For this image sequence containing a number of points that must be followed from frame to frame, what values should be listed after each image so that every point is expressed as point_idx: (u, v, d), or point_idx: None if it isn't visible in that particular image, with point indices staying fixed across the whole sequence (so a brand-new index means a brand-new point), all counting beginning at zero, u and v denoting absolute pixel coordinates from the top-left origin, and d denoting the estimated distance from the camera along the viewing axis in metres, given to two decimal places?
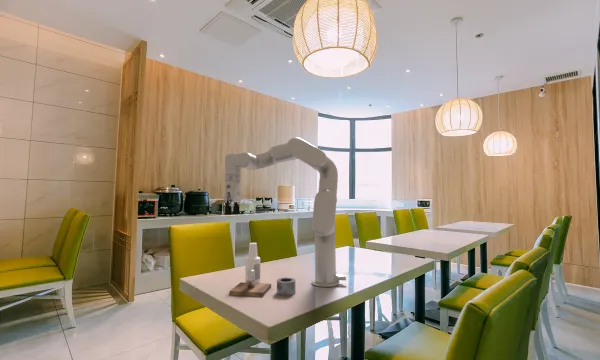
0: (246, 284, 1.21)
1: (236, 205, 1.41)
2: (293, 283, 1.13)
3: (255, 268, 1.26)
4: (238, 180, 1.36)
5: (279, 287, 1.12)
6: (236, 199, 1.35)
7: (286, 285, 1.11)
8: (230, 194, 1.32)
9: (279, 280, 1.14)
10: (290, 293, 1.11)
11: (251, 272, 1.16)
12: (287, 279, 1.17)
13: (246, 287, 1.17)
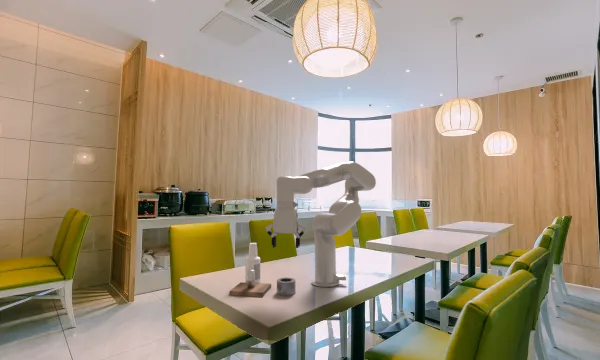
0: (246, 284, 1.21)
1: (275, 237, 1.17)
2: (293, 283, 1.13)
3: (255, 268, 1.26)
4: None
5: (279, 287, 1.12)
6: None
7: (286, 285, 1.11)
8: None
9: (279, 280, 1.14)
10: (290, 293, 1.11)
11: (251, 272, 1.16)
12: (287, 279, 1.17)
13: (246, 287, 1.17)
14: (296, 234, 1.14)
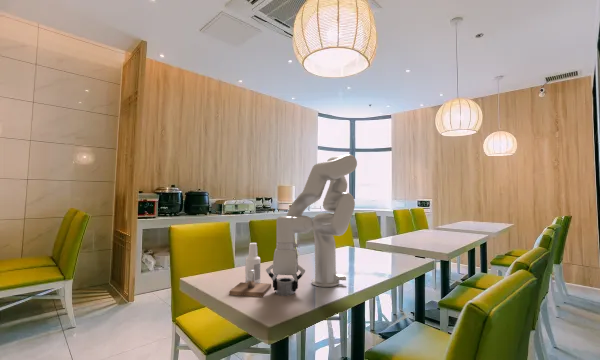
0: (246, 284, 1.21)
1: (276, 278, 1.15)
2: (292, 283, 1.12)
3: (255, 268, 1.26)
4: None
5: (278, 287, 1.12)
6: None
7: (285, 285, 1.11)
8: (298, 265, 1.15)
9: (278, 280, 1.14)
10: (289, 293, 1.11)
11: (251, 272, 1.16)
12: (286, 279, 1.17)
13: (246, 287, 1.17)
14: (294, 277, 1.13)
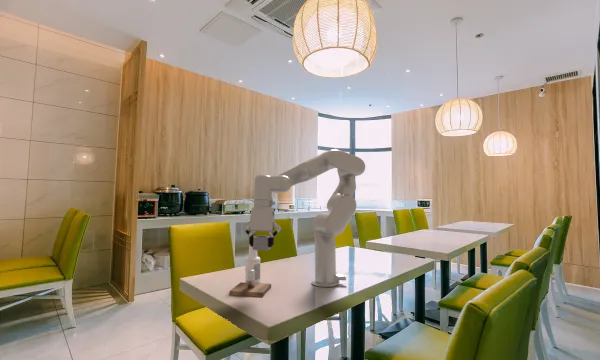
0: (246, 284, 1.21)
1: None
2: (268, 239, 1.15)
3: (255, 268, 1.26)
4: None
5: (254, 242, 1.15)
6: None
7: (261, 240, 1.14)
8: None
9: None
10: (265, 248, 1.14)
11: (251, 272, 1.16)
12: (263, 237, 1.20)
13: (246, 287, 1.17)
14: (270, 233, 1.16)
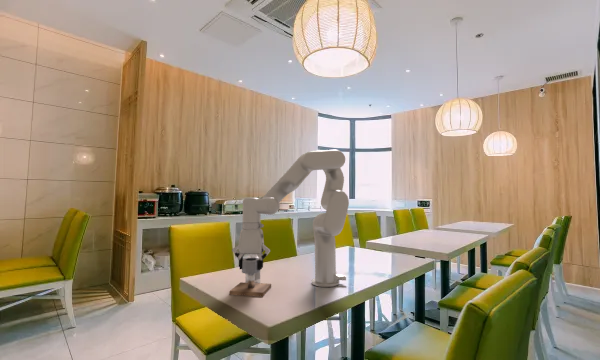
0: (246, 284, 1.21)
1: (242, 258, 1.19)
2: (257, 262, 1.16)
3: None
4: None
5: (243, 266, 1.15)
6: None
7: (250, 264, 1.14)
8: None
9: (244, 259, 1.17)
10: (254, 271, 1.14)
11: None
12: (252, 259, 1.20)
13: (246, 287, 1.17)
14: (259, 256, 1.16)
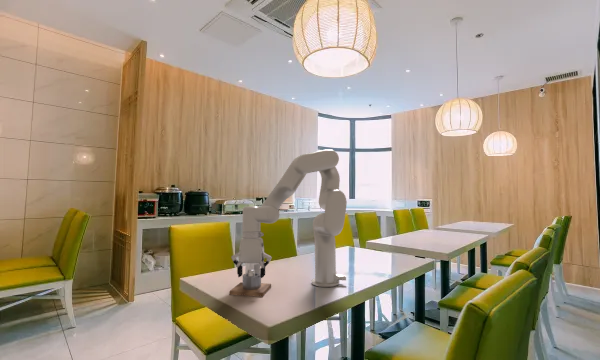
0: None
1: (241, 266, 1.19)
2: (258, 278, 1.15)
3: (255, 268, 1.26)
4: None
5: (244, 282, 1.15)
6: None
7: (251, 280, 1.14)
8: None
9: (245, 275, 1.17)
10: (254, 287, 1.14)
11: (251, 272, 1.16)
12: None
13: None
14: (261, 264, 1.16)
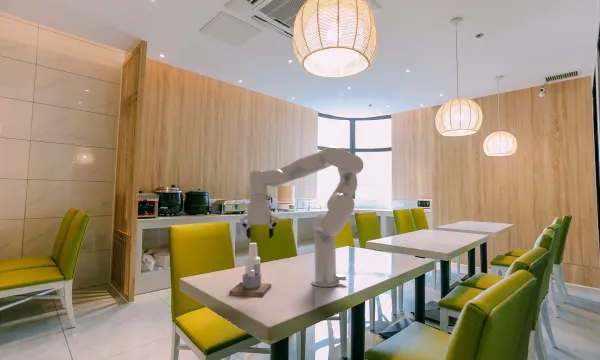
0: None
1: (249, 228, 1.23)
2: (258, 278, 1.15)
3: (255, 268, 1.26)
4: None
5: (244, 282, 1.15)
6: None
7: (251, 280, 1.14)
8: None
9: (245, 275, 1.17)
10: (254, 287, 1.14)
11: (251, 272, 1.16)
12: None
13: None
14: (269, 225, 1.20)
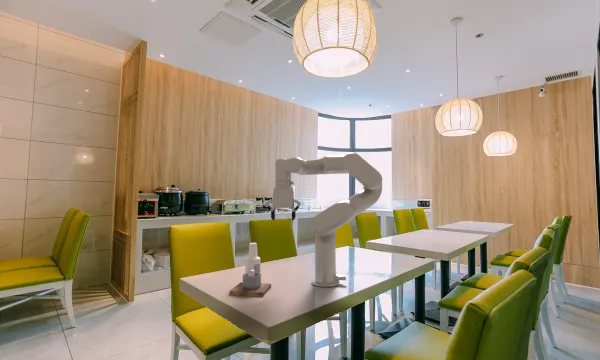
0: None
1: None
2: (258, 278, 1.15)
3: (255, 268, 1.26)
4: None
5: (244, 282, 1.15)
6: None
7: (251, 280, 1.14)
8: None
9: (245, 275, 1.17)
10: (254, 287, 1.14)
11: (251, 272, 1.16)
12: None
13: None
14: (292, 208, 1.32)
